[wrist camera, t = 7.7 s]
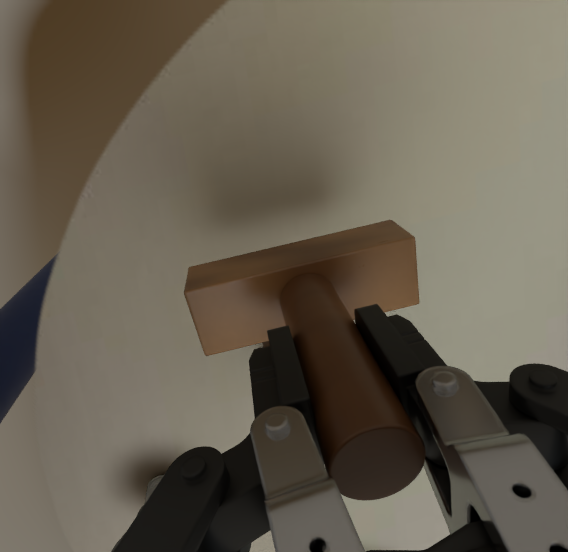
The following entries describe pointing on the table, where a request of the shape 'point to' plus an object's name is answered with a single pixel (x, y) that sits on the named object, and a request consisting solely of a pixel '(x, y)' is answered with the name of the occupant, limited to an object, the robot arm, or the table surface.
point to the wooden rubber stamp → (325, 340)
